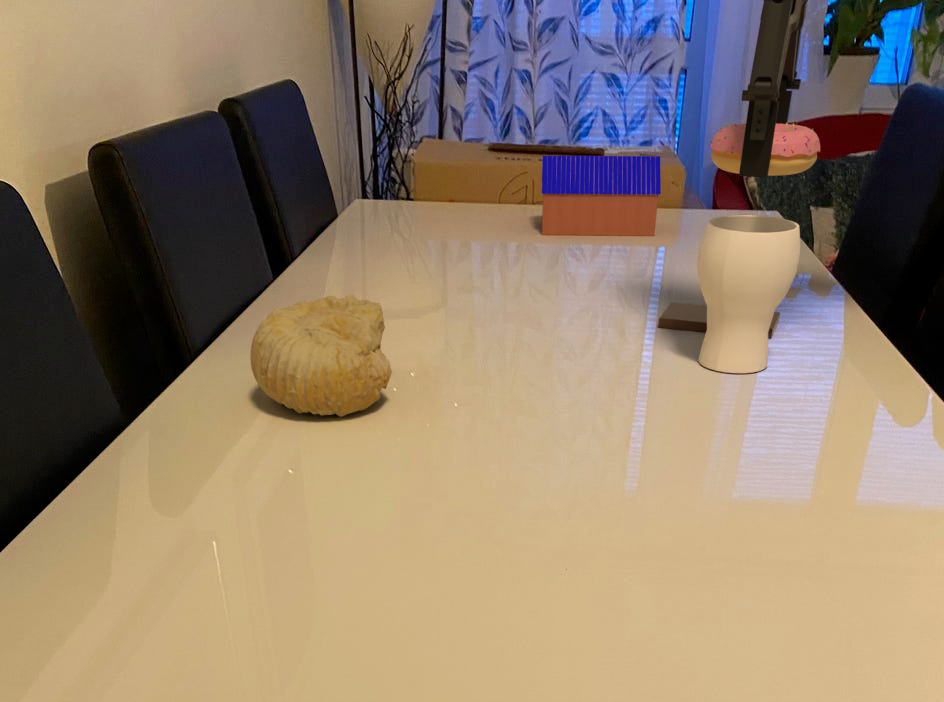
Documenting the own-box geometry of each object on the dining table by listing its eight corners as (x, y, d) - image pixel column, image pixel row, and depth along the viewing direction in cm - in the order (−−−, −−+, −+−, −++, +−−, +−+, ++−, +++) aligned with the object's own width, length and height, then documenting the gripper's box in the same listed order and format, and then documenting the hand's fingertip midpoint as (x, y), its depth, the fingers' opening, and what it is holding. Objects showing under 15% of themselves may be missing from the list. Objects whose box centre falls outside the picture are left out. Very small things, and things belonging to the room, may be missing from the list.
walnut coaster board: (778, 321, 127) (780, 312, 126) (771, 339, 121) (772, 329, 120) (670, 311, 131) (671, 301, 131) (657, 327, 125) (658, 317, 124)
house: (540, 221, 181) (542, 150, 175) (650, 222, 180) (656, 151, 173) (540, 235, 171) (542, 161, 165) (656, 236, 170) (663, 161, 163)
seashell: (237, 434, 103) (351, 429, 95) (203, 329, 98) (321, 314, 90) (331, 385, 115) (439, 377, 107) (306, 290, 110) (417, 273, 102)
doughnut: (813, 163, 105) (820, 119, 103) (820, 180, 96) (828, 132, 94) (708, 160, 108) (714, 117, 105) (706, 176, 99) (711, 130, 96)
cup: (800, 366, 112) (826, 226, 104) (735, 385, 107) (757, 238, 99) (730, 343, 119) (749, 210, 111) (666, 359, 114) (681, 221, 106)
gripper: (773, -90, 100) (740, 150, 112) (739, -105, 82) (704, 183, 94) (851, -92, 98) (809, 153, 110) (834, -108, 79) (785, 188, 92)
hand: (761, 167), depth 102 cm, fingers closed on doughnut, 11 cm apart
